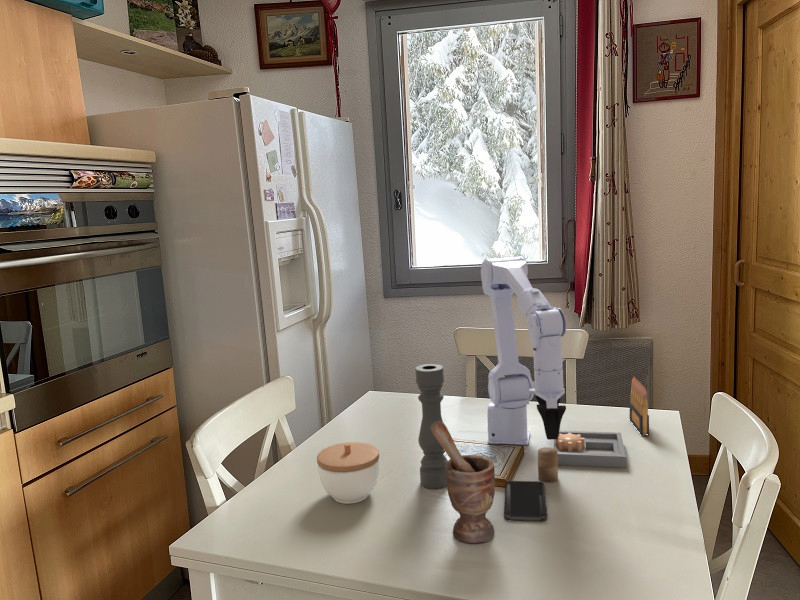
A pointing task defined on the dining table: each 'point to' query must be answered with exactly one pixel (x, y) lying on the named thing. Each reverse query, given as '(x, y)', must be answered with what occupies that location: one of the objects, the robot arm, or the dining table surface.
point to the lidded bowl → (349, 471)
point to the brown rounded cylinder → (547, 464)
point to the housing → (576, 442)
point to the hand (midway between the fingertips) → (551, 432)
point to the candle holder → (430, 397)
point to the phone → (525, 501)
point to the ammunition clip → (639, 407)
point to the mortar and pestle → (468, 488)
